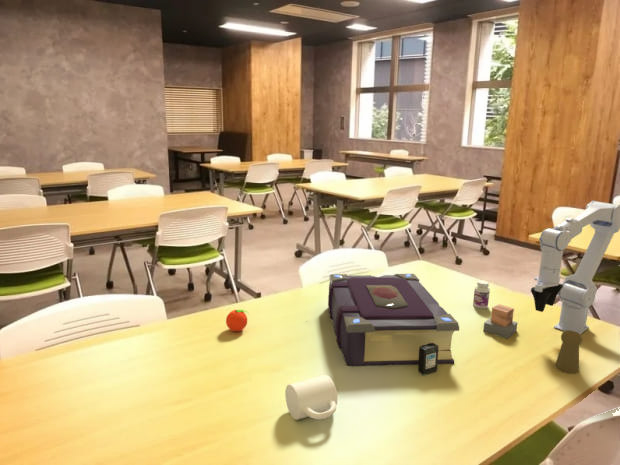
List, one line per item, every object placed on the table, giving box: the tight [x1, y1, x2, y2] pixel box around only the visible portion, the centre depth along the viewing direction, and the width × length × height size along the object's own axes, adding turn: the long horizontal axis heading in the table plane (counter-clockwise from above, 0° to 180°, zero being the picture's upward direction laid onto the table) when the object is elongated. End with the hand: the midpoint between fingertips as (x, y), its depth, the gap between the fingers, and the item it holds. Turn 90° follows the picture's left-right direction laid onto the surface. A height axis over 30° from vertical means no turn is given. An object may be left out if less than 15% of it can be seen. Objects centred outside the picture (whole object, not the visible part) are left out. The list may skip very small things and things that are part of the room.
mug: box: [284, 374, 338, 421], centre depth 107 cm, size 12×10×8 cm
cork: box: [554, 331, 583, 375], centre depth 130 cm, size 6×6×11 cm
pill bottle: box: [472, 280, 491, 309], centre depth 174 cm, size 5×5×10 cm
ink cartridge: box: [417, 343, 439, 376], centre depth 127 cm, size 5×2×8 cm, turn 117°
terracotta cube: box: [490, 303, 515, 327], centre depth 153 cm, size 5×5×5 cm
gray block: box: [483, 317, 518, 340], centre depth 154 cm, size 8×8×4 cm
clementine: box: [225, 309, 248, 332], centre depth 151 cm, size 8×7×7 cm
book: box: [327, 273, 460, 367], centre depth 151 cm, size 33×45×14 cm
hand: (544, 307), depth 147 cm, fingers open, 7 cm apart
